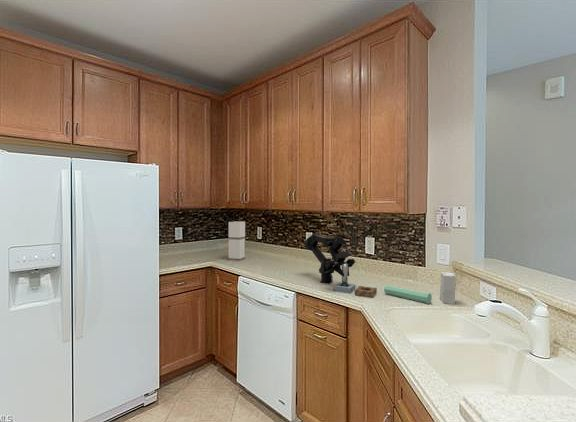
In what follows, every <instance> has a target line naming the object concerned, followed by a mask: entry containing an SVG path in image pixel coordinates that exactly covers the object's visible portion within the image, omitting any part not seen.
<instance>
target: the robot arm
mask: <svg viewBox="0 0 576 422" xmlns="http://www.w3.org/2000/svg"><path fill="white" fill-rule="evenodd" d="M303 243H304V244H303V245H304V247H305V249H307V250H309V251H311V252H312V253H313V255H314V256H315V258H316V259H317V261H318V262H319V263H320V267H319V268H318V272H319V274H321V276H320V278H321V279H320V280H321V281H320V283H321V284H327V285H329V284H331V283H333V280H334V279H333V278H334V277H333V274H334V273H338V274H339V275H340V276H341V277H342V276H343V277H344V274H343V272H342V263H347V264H348V277H349V276H350V268H352V267H353V266H354V265H355V263H356V261H355V259H354V258H349V257H350V256H351V253H350V251H349V250H346V251H343V252H340V251H341V249H342V248H343V247H344V245H345V244H346V240H345V239H344V238H343V237H340V235H336V236H335V237H326V236H324V235H320V234H318V233H313V234H311V235H309V237H308V238H306V240H305V241H304V242H303ZM319 243H321V244H322V245H323V246H324V247H325V248H328V249H327V253H328V254H330V256H331V258H329V257H328V258H327V257H326V255H324V253H323V252H322V251H321V249H320V248H319V246H318V245H319ZM346 259H347V260H346Z"/></svg>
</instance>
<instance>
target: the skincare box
mask: <svg viewBox="0 0 576 422" xmlns="http://www.w3.org/2000/svg"><path fill="white" fill-rule="evenodd" d="M456 282H457V276H456V275H455V274H454V273H453V272H447V271H440V284H439V285H440V286H439V287H440V288H439V289H440V290H439V299H440V301H441V302H442V304H448V305H455V303H456V287H457V286H456V285H457V283H456Z"/></svg>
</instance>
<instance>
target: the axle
mask: <svg viewBox="0 0 576 422" xmlns="http://www.w3.org/2000/svg"><path fill="white" fill-rule="evenodd" d="M341 269H342V272H343V274H344V277H343V276H341V283H342V286H345V287H348V283H349V282H348V281H349V279H348V277H349V276H348V264H347V263H342V265H341Z"/></svg>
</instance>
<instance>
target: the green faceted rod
mask: <svg viewBox="0 0 576 422" xmlns="http://www.w3.org/2000/svg"><path fill="white" fill-rule="evenodd" d="M383 289H384V291H383V292H384V293H385V294H386V295H389V296H394V297H399V298H401V299H402V298H403V299H407V300H411V301H414V302H415V301H416V302H419V303H424V304H426V305H430V304H431V303H432V300H433V299H432V298H433V296H432V294H431V292H428V293H427V292H423V291H422V292H421V291H416V290H412V289H406V288H401V287H397V286H392V285H386V286H385V287H384V288H383ZM429 303H430V304H429Z"/></svg>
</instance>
